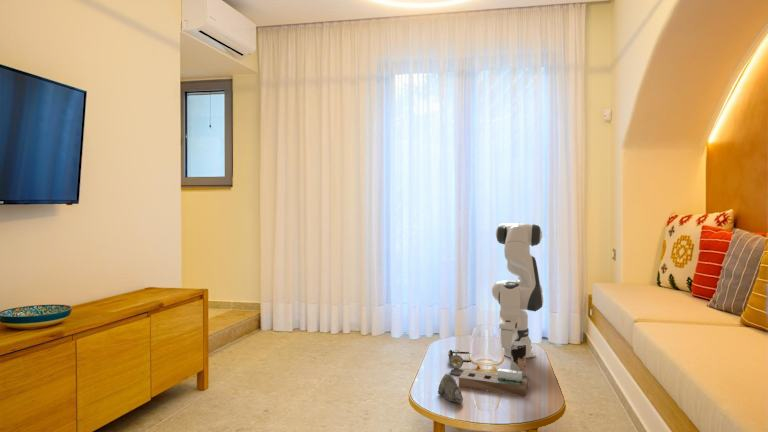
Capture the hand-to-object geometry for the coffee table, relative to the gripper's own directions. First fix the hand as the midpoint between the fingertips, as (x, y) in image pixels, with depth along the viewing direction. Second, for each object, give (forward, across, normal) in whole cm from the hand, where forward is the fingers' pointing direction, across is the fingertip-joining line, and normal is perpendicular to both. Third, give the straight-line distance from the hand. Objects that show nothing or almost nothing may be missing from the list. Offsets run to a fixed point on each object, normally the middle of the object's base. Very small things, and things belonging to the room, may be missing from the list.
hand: (509, 352), depth 212 cm
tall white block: (+16, 0, 0) cm, 16 cm away
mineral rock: (+16, +21, -20) cm, 33 cm away
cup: (+16, -18, +1) cm, 25 cm away
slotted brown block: (+16, +1, -7) cm, 17 cm away
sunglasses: (+17, -26, -26) cm, 41 cm away
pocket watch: (+17, -11, -26) cm, 33 cm away
